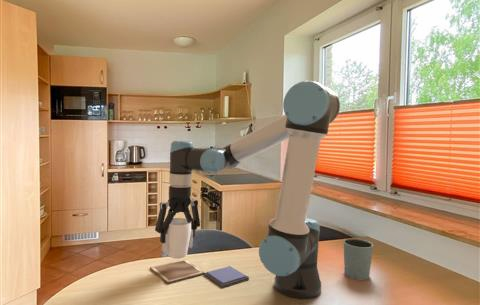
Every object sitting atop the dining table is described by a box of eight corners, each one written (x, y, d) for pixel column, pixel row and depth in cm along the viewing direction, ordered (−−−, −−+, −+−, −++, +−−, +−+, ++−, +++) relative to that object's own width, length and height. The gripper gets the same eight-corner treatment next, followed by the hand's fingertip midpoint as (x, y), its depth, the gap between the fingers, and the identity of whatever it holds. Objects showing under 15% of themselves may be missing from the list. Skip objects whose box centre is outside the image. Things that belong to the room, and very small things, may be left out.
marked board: (204, 274, 115) (204, 272, 115) (167, 284, 107) (167, 282, 107) (184, 260, 126) (185, 259, 126) (149, 268, 118) (150, 267, 118)
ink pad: (248, 279, 113) (249, 276, 113) (222, 287, 106) (222, 284, 106) (229, 268, 121) (229, 265, 121) (204, 275, 115) (204, 271, 115)
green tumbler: (373, 282, 115) (375, 248, 114) (342, 278, 117) (345, 245, 116) (367, 270, 125) (370, 239, 124) (340, 267, 127) (342, 236, 126)
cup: (192, 251, 120) (194, 219, 119) (186, 261, 111) (187, 226, 110) (168, 249, 121) (170, 217, 120) (160, 258, 112) (161, 223, 111)
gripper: (201, 182, 124) (198, 240, 126) (145, 185, 111) (143, 251, 112) (212, 185, 118) (209, 246, 120) (155, 189, 105) (152, 258, 106)
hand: (177, 249), depth 116 cm, fingers closed on cup, 9 cm apart
